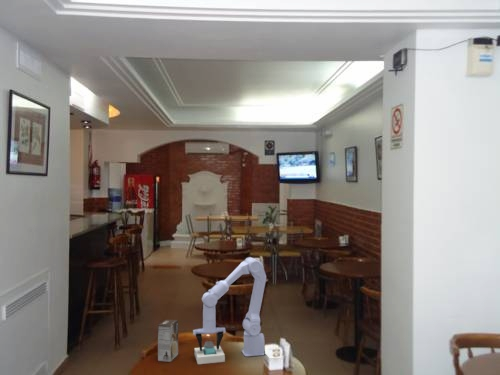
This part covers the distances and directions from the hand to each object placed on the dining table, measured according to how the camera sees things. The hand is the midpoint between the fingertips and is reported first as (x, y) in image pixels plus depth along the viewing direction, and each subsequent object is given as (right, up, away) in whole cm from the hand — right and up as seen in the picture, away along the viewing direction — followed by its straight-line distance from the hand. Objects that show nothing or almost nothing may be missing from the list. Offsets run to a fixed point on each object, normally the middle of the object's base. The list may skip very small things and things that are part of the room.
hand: (209, 349), depth 197 cm
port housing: (0, -4, 0) cm, 4 cm away
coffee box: (-19, -4, 0) cm, 19 cm away
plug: (0, -3, 0) cm, 3 cm away
